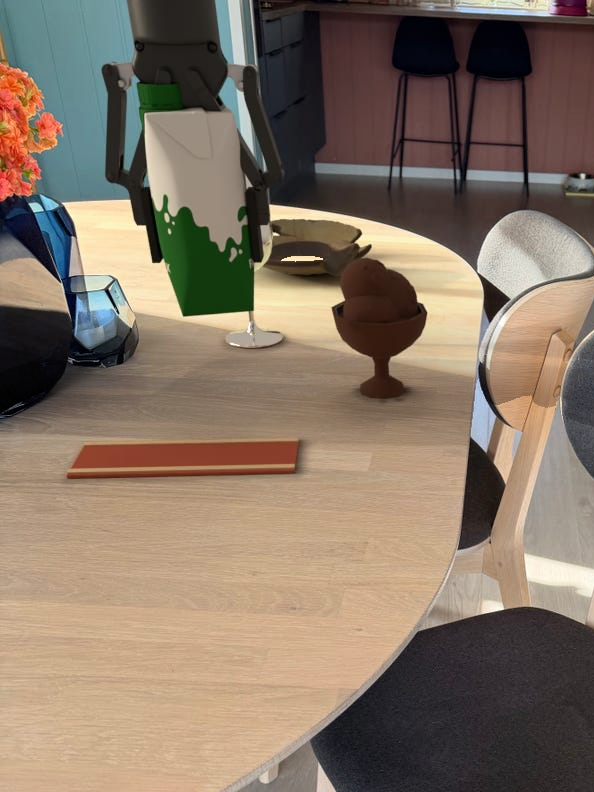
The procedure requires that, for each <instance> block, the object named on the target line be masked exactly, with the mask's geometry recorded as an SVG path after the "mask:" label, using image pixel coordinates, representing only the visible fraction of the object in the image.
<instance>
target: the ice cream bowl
mask: <svg viewBox="0 0 594 792" xmlns="http://www.w3.org/2000/svg"><path fill="white" fill-rule="evenodd" d="M339 284H340V290H341V293H342V295H343V298H344V300H343V301H341V302H339V303H337V304H335V305H333V306H331V307H330V308H331V312H332V316H333V320H334V324H335V328H336V330H337V332H338V334H339V336H340V339H341V340H342V341H343V342H344V343H345V344H346V345H347V346H348V347H349V348H351V349H352V350H354V351H356V352H357V353H359V354H361V355H364V356H366V357H369V358H371V359H372V361H373V366H374V375H373V376H371V377H370V378H368V379H366V380H365V381H363V382H362V383H360V386H359V392H360V394H361V395H363V396H366V397H368V398H370V399H392V398H395V397H400V396H401V395H403V394H404V393H405V392H406V389H405V385H404V383H403V381H401V380H400V379H397V378H396V377H394V376H392V375H390V367H389V363H390V360H391V358H394V357H396V356H398V355H400V354H401V353H403V352H405V350H407V349H408V348H410V347H411V346H412V345H414V343H416V341H417V340H418V339H420V337H421V336H422V334H423V332H424V330H425V327H426V325H427V324H426V323H427V319H428V311H427V309H426V306H425V305H424V303H423V302H419V300H418V295H417V292H416V289H415V287H414V285H412V283H411V282H410V281H409V279H407V278H406V276H405V275H404V274H403V273H400V272H398V271H396V270H393V269H390V268H387V267H386V266H385V264H384V263H383V262H381V261H380V260H378V259H374V258H370V257H362V258H361V259H357V260H355V261H352V262H350V263H349V264H348V265H347V266H346V268H345V269H344V271H343V272H342V274H341V275H340V279H339Z"/></svg>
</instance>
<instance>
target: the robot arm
mask: <svg viewBox="0 0 594 792" xmlns="http://www.w3.org/2000/svg"><path fill="white" fill-rule="evenodd" d="M126 5H127V11H128V18H129V23H130V28H131V34H132V41H133V48H134V49H133V50H134V52H133V56H132V59H131V61H130V62H129V61H128V62H120V63H118V62H116V61H110V62H107V63H105V64H103V65H102V66H101V76H102V79H103V82H104V86H105V89H106V93H107V101H106V103H107V104H106V105H107V106H106V130H105V131H106V133H105V135H106V136H105V137H106V138H105V164H104V177H105V179H106V181H107V182H108V183H109V184H116V185H119V186H121V187H124V188H125V189H126V190H127V193H128V195H129V202H130V207H131V211H132V216H133V221H134V223H135V224H136V226H145V229H146V237H147V242H148V247H149V253H150V258H151V263H152V264H161V263H162V261H164V259H163V255H162V251H161V247H160V243H159V237H158V232H157V226H156V220H155V214H154V209H153V203H152V197H151V191H150V186H144V184H145V182H146V176H147V175H148V173H147V160H146V148H145V136H144V135H143V127H142V126H141V131H140V134H139V138H138V141H137V144H136V148H135V150H134V154H133V156H132V161H131V164H130V166H129V170H128V169H126V168H125V157H126V155H125V154H126V134H127V133H126V131H127V130H126V129H127V109H128V108H127V106H128V93H127V91H128V90H129V89H130V88H131V87H132V79H133V77H134V76H135V77H136V79H137V80H138V82H141V83H142V84H152V85H168V84H180V90H181V97H182V101H183V102H182V103H183V107H182V108H187V109H189V108H203V110H206V111H208V112H222V111H223V110H224V109H225V108H226V106H227V105H226V104H225V103H224V101H223V99H222V98H221V96H220V93H221V91H222V88H223V86H224V85H225V83H226V81H227V79H228V78H231V80H233V83H234V85H235V88H236V89H237V91H239V92H241V93H243V99H244V103H245V106H246V109H247V113H248V115H249V118H250V120H251V124H252V127H253V130H254V133H255V136H256V140H257V142H258V145H259V149H260V151H261V154H262V157H263V159H264V163H265V166H266V170H264V171H263V169H262V168H261V166H260V164H259V162H258V160H257V159H256V157H255V156H254V154H253V152H252V150H251V148H250V147H249V145H248V144H247V142H246V140H245V139H244V137H243V135H242V134H241V133H242V132H240V130H239V128H238V127H237V132H238V136H239V141H240V166H241V168H242V170H243V171H244V173H245V175H246V176H247V178H248V180H249V181H250V183H251V185H252V186H253V187H248V189H247V191H246V192H245V193H246V201H247V209H248V218H249V226H250V234H251V243H252V251H253V260H254V263H261V262H262V260H263V257H264V252H263V244H262V235H261V226H260V225H268V223H269V220H270V221H271V210H270V201H269V199H270V198H269V188H271V187H272V186H274V185H279V184H281V183H282V182H283V180H284V177H285V174H286V172H285V167H284V166H283V162H282V160H281V156H280V153H279V150H278V147H277V143H276V141H275V137H274V134H273V130H272V129H271V125H270V122H269V119H268V115H267V112H266V109H265V107H264V106H265V105H264V103H263V100H262V97H261V94H260V70H259V68H258V66H257V65H256V64H255V63H248V64H247V65H246V64H237V63H230V62H228V60H227V58H226V57H225V55H224V53H223V50H222V46H221V45H222V44H221V36H220V30H219V29H220V28H219V22H218V14H217V4H216V0H126ZM225 105H226V106H225Z"/></svg>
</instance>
